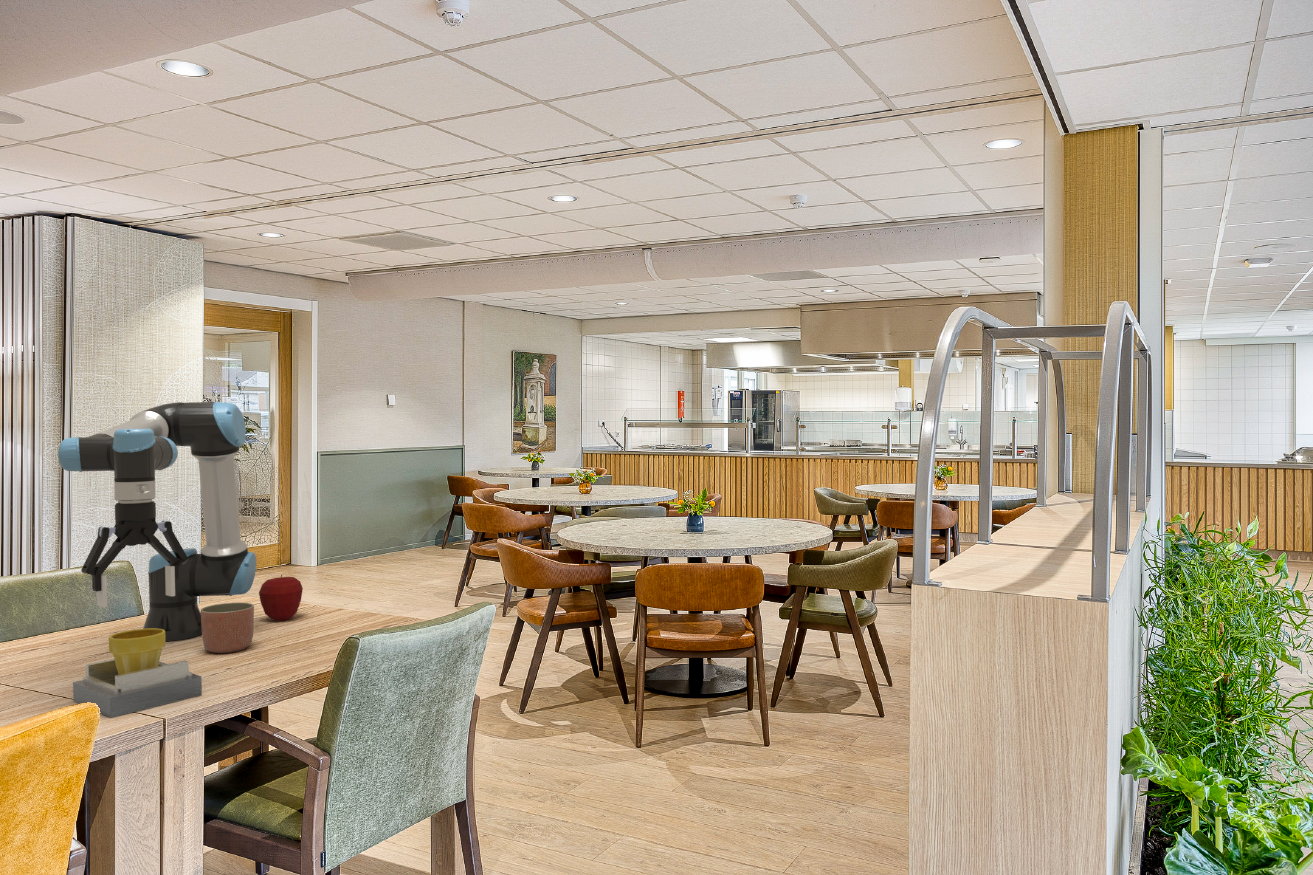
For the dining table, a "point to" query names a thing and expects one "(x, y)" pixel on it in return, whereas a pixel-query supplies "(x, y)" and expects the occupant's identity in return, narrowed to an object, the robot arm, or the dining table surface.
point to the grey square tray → (135, 687)
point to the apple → (281, 597)
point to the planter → (227, 627)
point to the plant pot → (137, 649)
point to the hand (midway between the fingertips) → (137, 600)
